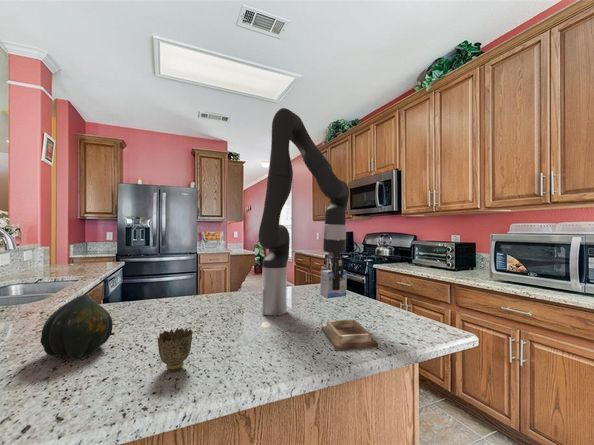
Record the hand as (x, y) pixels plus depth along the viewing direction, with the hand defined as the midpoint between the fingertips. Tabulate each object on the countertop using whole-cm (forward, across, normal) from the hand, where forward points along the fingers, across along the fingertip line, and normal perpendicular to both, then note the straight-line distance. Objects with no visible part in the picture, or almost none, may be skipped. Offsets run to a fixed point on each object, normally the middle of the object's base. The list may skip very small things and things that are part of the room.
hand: (333, 287), depth 96 cm
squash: (+13, +11, -71) cm, 74 cm away
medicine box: (+3, 0, 0) cm, 3 cm away
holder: (+11, +14, 0) cm, 18 cm away
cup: (+12, +24, -44) cm, 52 cm away
